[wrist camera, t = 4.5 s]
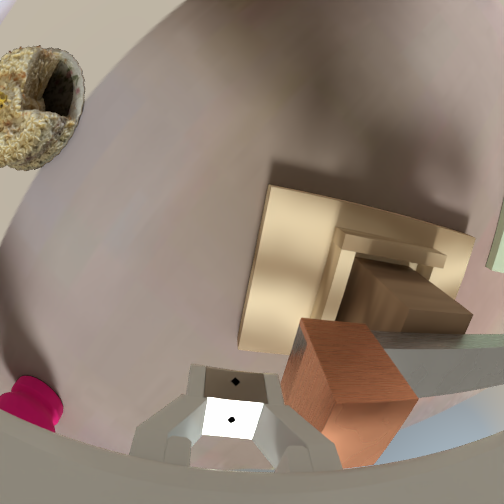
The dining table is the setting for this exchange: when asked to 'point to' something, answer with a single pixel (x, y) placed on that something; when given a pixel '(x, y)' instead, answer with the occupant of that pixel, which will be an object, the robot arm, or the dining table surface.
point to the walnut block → (399, 301)
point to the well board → (332, 260)
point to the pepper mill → (33, 402)
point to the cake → (38, 105)
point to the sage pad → (497, 247)
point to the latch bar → (379, 379)
